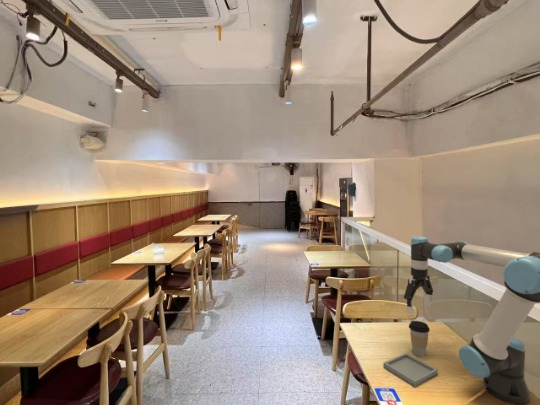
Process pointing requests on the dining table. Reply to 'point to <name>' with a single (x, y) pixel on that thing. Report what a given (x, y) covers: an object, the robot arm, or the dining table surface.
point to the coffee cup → (419, 337)
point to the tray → (410, 369)
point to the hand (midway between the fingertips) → (418, 309)
